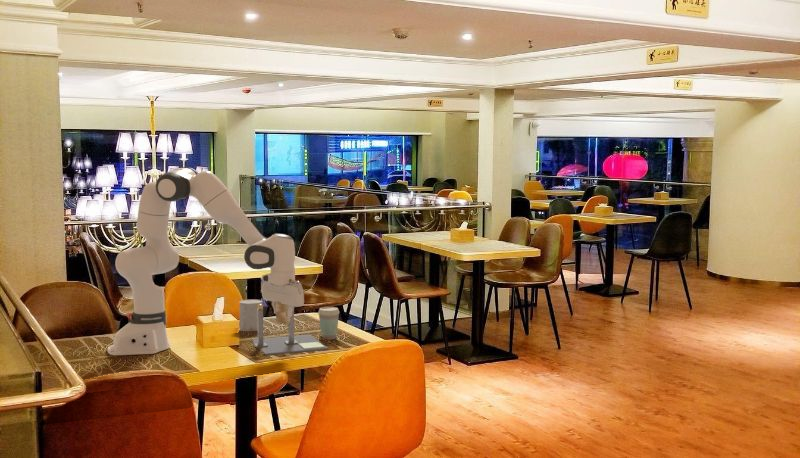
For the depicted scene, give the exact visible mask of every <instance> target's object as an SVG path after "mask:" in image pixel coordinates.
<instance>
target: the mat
mask: <svg viewBox="0 0 800 458" xmlns="http://www.w3.org/2000/svg"><path fill="white" fill-rule="evenodd" d="M294 340H296V341H297V342H298V344H294V345H287V344H286V343H284V341H289V337H288V335H287V336H285V335H284V336H274V337H263V341H264V343H266V344H267V345H268V347H261V348H259V349H260V350H261V351H262V352H263V355H264V356H265V357H267V356H276V355H277V356H278V355H289V354H288V353H290V354H300V352H301V353H310V352H320V351H329V347H328V346H326V344H324V343H323V342H321V341H320V340H318V339H317V338H316V337H314V336H313V335H312V334H298V335H297V334H296V335H294ZM251 341H252V342H253V344H256V343H258V338H253V339H251ZM310 342H320V343H321V344H322V345H323V346H325V348H314V349H303V348H302V347H301V346H300V345H299V343H310Z"/></svg>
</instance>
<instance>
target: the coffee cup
mask: <svg viewBox="0 0 800 458" xmlns="http://www.w3.org/2000/svg"><path fill="white" fill-rule="evenodd" d="M317 314H318V317H319V318H318V320H319V327H320V334H321V338H323V339H324V340H326V341H327V340H328V341H332V340H336V339H337V335H338V326H339V325H338V324H339V318H340V317H339V316H340V315H339V314H340V310H339V308H338V307H335V306H324V307H319V309H318V312H317Z"/></svg>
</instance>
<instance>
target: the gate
mask: <svg viewBox="0 0 800 458" xmlns="http://www.w3.org/2000/svg"><path fill="white" fill-rule="evenodd" d="M257 308H258V309H259V310H257V323H258V330H257V339H258V343H256V344H255V343H253V346H254V348H257V349H260V348H261V347H268V345H267V344H266V343H264V341H263V338H264V305H263V303H262V304H259V305H258V306H257ZM287 324H288V326H287V327H288V328H287V329H288V330H287V332H288V335H287V336H288V337H289V341H284V343H286V344H287V345H294V344H298V342H297V341H296V340H294V336H295V308H294V309H293V311H292V317H290V322H289V323H287Z"/></svg>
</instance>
